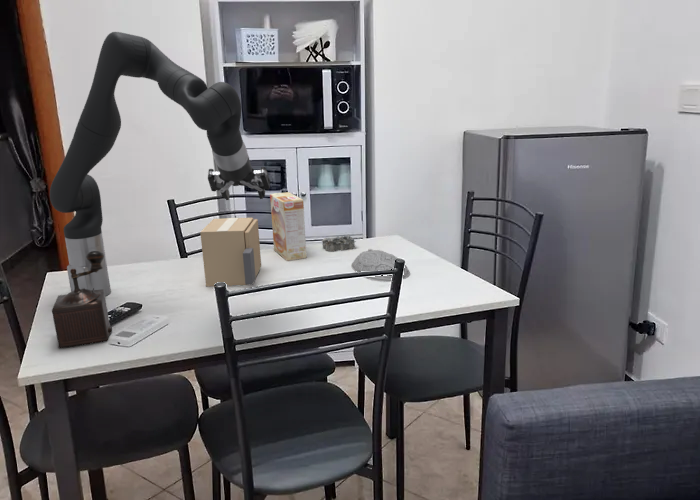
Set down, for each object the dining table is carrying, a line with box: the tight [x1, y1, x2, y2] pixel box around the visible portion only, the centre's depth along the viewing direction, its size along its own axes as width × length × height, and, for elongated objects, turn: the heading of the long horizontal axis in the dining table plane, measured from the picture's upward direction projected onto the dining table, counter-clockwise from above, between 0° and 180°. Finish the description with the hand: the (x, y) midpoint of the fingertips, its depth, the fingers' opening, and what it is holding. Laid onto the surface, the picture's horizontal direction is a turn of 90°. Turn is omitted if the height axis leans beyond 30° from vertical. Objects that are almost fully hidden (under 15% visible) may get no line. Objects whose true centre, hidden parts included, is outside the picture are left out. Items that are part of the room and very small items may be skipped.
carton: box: [199, 217, 254, 288], centre depth 172 cm, size 16×12×16 cm
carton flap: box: [243, 218, 262, 286], centre depth 169 cm, size 21×2×15 cm, turn 179°
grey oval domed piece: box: [351, 248, 411, 283], centre depth 176 cm, size 16×25×7 cm, turn 27°
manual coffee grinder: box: [51, 251, 113, 349], centre depth 136 cm, size 16×11×18 cm
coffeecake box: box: [269, 191, 307, 262], centre depth 193 cm, size 15×7×20 cm, turn 23°
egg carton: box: [321, 234, 357, 252], centre depth 200 cm, size 11×8×4 cm
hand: (244, 196), depth 148 cm, fingers open, 8 cm apart
